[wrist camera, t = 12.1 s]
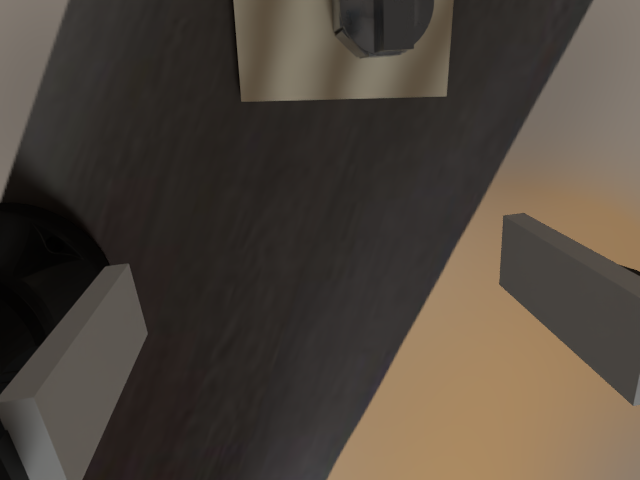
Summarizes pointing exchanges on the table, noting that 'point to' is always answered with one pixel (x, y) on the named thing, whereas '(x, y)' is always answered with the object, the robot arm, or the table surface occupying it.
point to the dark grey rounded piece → (380, 25)
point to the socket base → (331, 56)
